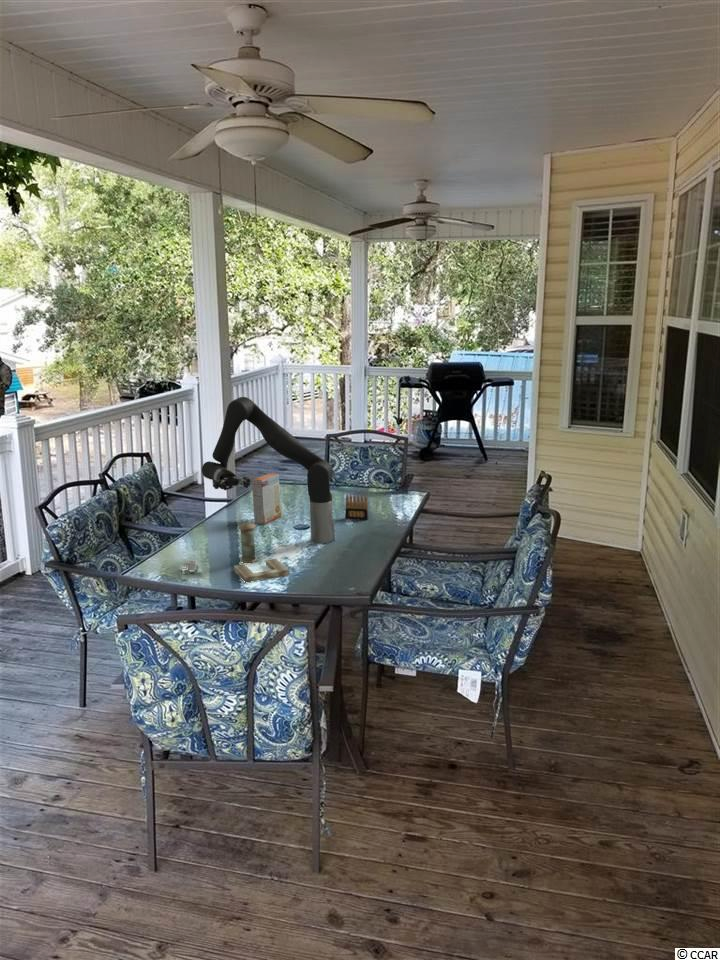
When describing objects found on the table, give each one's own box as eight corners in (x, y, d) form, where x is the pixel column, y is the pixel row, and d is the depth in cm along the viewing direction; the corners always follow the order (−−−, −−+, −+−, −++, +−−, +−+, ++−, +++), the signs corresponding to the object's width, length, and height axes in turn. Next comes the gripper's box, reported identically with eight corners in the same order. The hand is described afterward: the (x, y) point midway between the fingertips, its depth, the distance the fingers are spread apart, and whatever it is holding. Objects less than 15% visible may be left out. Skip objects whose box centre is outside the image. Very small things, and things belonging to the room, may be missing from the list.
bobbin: (254, 557, 274) (252, 522, 271) (259, 562, 269) (257, 526, 266) (238, 559, 272) (236, 525, 268) (243, 564, 266) (241, 529, 263)
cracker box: (271, 515, 332) (269, 472, 327) (281, 517, 329) (279, 473, 325) (253, 523, 320) (251, 478, 315) (264, 525, 317) (262, 480, 313)
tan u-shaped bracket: (276, 563, 267) (275, 558, 266) (289, 575, 254) (289, 569, 254) (234, 570, 260) (233, 565, 259) (245, 583, 247) (245, 577, 247)
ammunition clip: (345, 518, 325) (344, 493, 323) (346, 517, 327) (345, 492, 324) (367, 520, 323) (367, 494, 320) (368, 519, 324) (368, 493, 322)
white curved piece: (176, 571, 262) (175, 560, 261) (196, 566, 266) (195, 556, 265) (186, 577, 255) (185, 566, 254) (206, 572, 259) (205, 562, 259)
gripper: (207, 471, 284) (218, 479, 270) (241, 467, 290) (253, 475, 276) (208, 489, 286) (219, 498, 272) (242, 485, 292) (254, 493, 278)
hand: (236, 486), depth 274 cm, fingers open, 8 cm apart
